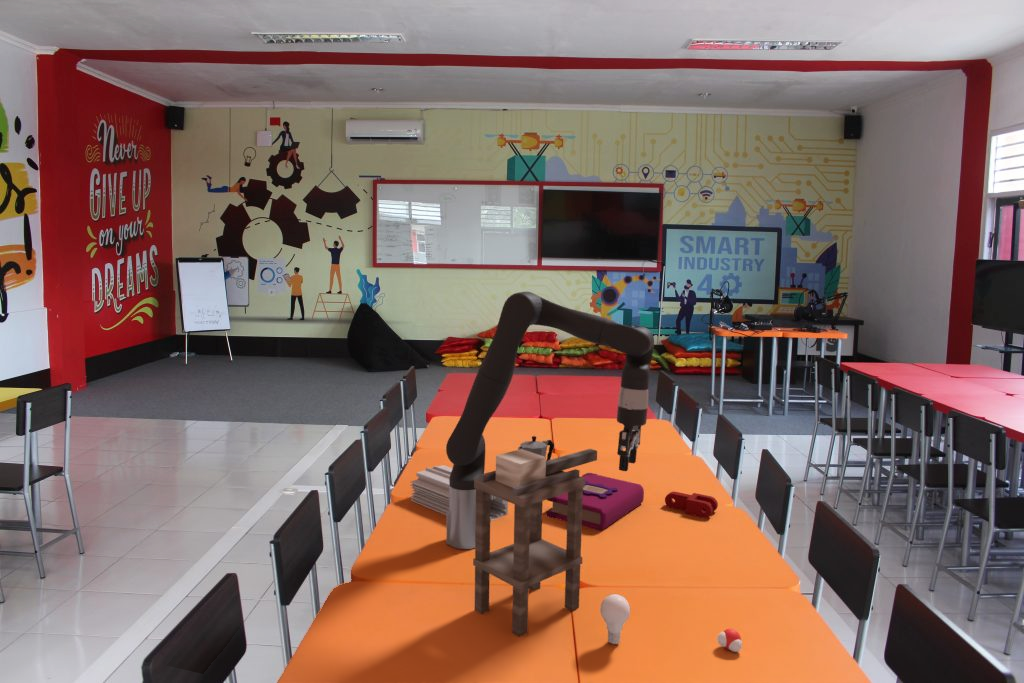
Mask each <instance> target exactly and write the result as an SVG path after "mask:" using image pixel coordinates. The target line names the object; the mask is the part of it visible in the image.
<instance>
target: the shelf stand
mask: <svg viewBox="0 0 1024 683" xmlns="http://www.w3.org/2000/svg"><path fill="white" fill-rule="evenodd" d="M580 473H581V472H580V470H579V469H576V468H575V469H572V470H569V471H565V470H562V471H559V472H556V473H552V474H549V475H546V478H545V479H541V480H538V481H535V482H531V483H528V484H525V485H521V486H518V487H515V488H512V487H510V486H507V485H505V484H502V483H499V482H497V481H496V470H493V471H490V472H486V473H485V472H484V474H481V475H479V478H477V479H474V488H476V528H475V548H474V549H475V550H474V552H475V553H474V558H472V559H473V563H472V565H473V566H474V611H475V612H476V613H478V614H480V615H482V614H484V613H487V612H489V611H490V575H491V576H493V577H494V578H497V579H499V580H501V581H503V582H505V583H506V584H508V585H510V586H511V587H512V618H511V619H512V622H511V632H512V634H514V635H515V636H518V637H519V638H520V637H523V636H524V635H526V634H528V624H529V623H528V621H529V620H528V618H529V616H528V615H529V590H531V591H532V592H534V591H537V590H539V589H541V582H542V581H545V580H547V579H549V578H551V577H553V576H556V575H559V574H561V573H563V572H565V581H564V582H565V583H564V591H565V592H564V608H565V609H567V610H569V611H571V612H574V611H577V609H579V608H580V585H581V583H580V582H581V565H582V564H583V557H582V554H581V553H582V532H583V531H582V528H583V526H582V502H583V487H585V478H582V477H581V476H580ZM565 493H568V513H567V521H566V547H565V548H566V549H565V548H563V547H560V546H559V545H556V544H554V543H552V542H549V541H547V540H545V539H543V536H542V533H543V502H544V501H548V500H547V499H550V498H553V497H556V496H559V495H562V494H565ZM491 495H493V496H495V497H498V498H500V499H503V500H505V501H508V503H510V504H512V505H514V513H513V515H514V516H513V517H514V521H513V543H511V544H508V545H506V546H504V547H503V546H502V547H501V548H498V549H495V550H493V551H491V521H490V505H491Z"/></svg>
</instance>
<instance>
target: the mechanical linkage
mask: <svg viewBox="0 0 1024 683" xmlns="http://www.w3.org/2000/svg"><path fill="white" fill-rule="evenodd" d="M664 503H665V505H666V506H667V508H669V509H674V510H679V511H683V512H685V514H686V515H689V516H693V517H700V518H702V519H703V518H704V519H708V518H710V516H711V515H712V514H713V513H714V512H715V511H717V509H718V506H719V505H718V504H719V503H718V500H717V499H716V498H715V497H714V496H711V495H705V494H700V493H696V492H693V493H691V494H688V493H683V492H678V491H670V492H669V493H668V494H666V496H665V498H664Z"/></svg>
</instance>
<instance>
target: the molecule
mask: <svg viewBox="0 0 1024 683" xmlns="http://www.w3.org/2000/svg"><path fill="white" fill-rule="evenodd" d="M716 639H717V643H718V644H719V646H721V647H723V648H726V649H727V650H730V651H731V652H733V653H738V652H739V651H741V650H742V647H743V642H742V638H741V635H740V633H739V632H738V631H737V630H735V629H733V628H726V629H725V630H723V631H721V632H719V634H718V635H717V638H716Z"/></svg>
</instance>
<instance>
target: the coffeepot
mask: <svg viewBox="0 0 1024 683" xmlns="http://www.w3.org/2000/svg"><path fill="white" fill-rule="evenodd" d="M548 446H549V447H548ZM554 448H555V443H554V442H553V441H552V440H551V439H547V440H542V441H538V440H537V436H536V435H533V436H531V440H527V441H524V442H521V443H520V445H519V446H518V447H517V450H520V449H523V450H526V451H529V452H532V453H535V454H538V455H541V456H544V457H546V461H548V460H551V458H552V456H553V451H554ZM547 449H548V450H547ZM547 451H548V453H547ZM546 455H547V456H546Z"/></svg>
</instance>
